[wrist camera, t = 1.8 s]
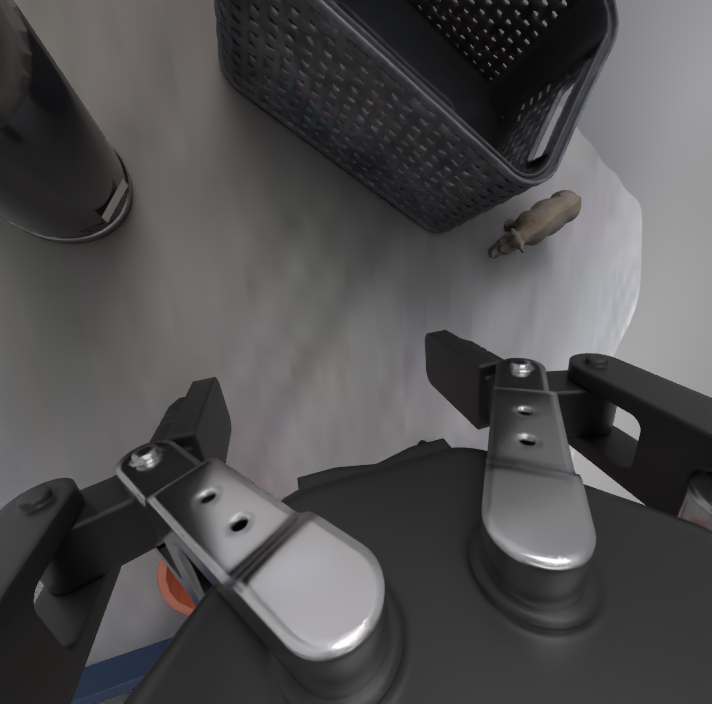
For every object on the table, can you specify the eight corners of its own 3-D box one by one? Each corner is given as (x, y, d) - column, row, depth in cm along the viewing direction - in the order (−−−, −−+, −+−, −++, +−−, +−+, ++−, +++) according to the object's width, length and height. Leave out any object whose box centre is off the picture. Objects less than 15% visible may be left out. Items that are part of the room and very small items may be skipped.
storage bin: (201, 66, 29) (174, -139, 16) (301, -97, 31) (346, -390, 19) (443, 246, 38) (545, 203, 26) (508, 111, 40) (631, 10, 28)
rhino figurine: (464, 245, 39) (503, 230, 34) (540, 195, 43) (586, 174, 37) (479, 275, 40) (519, 266, 35) (551, 224, 44) (598, 208, 38)
